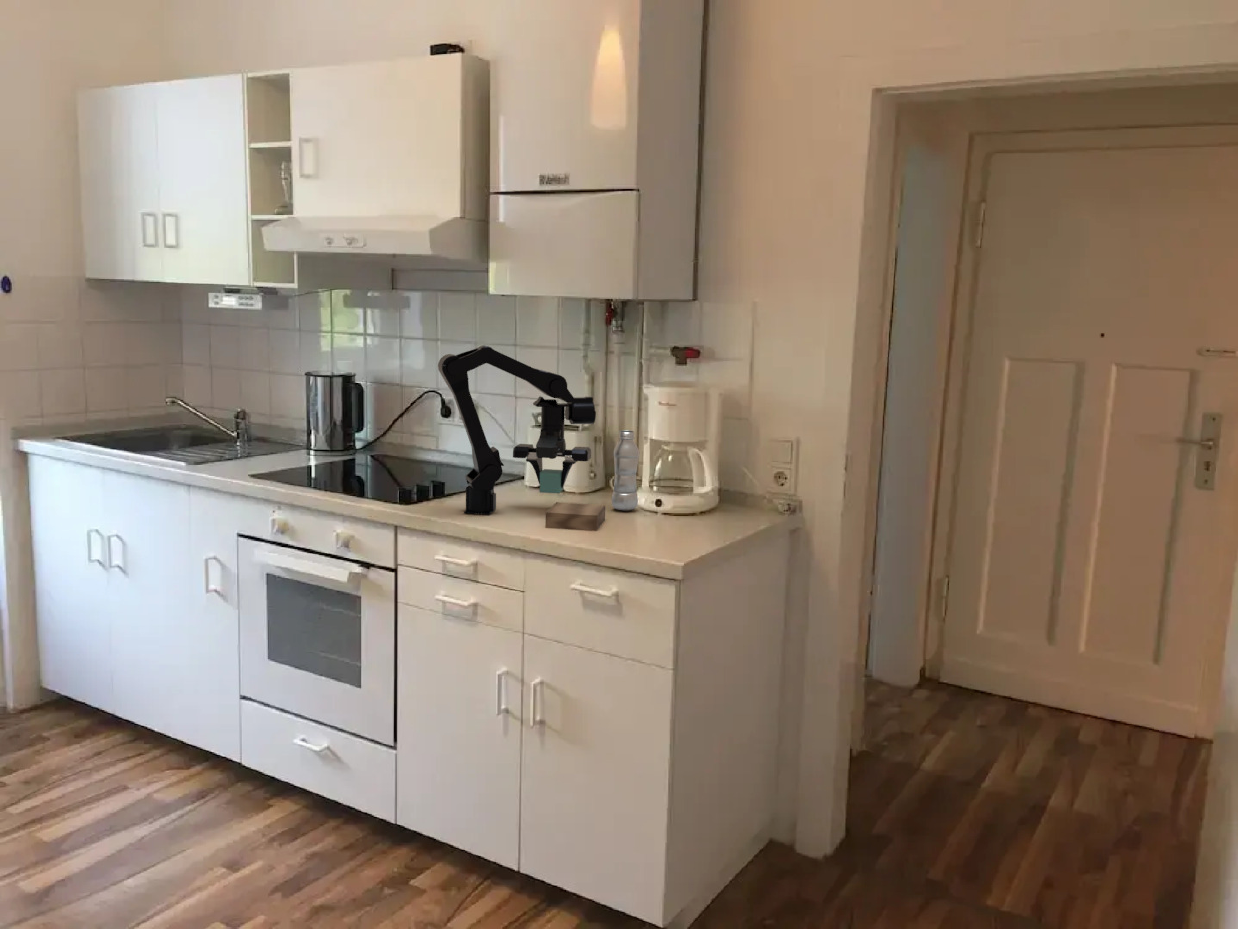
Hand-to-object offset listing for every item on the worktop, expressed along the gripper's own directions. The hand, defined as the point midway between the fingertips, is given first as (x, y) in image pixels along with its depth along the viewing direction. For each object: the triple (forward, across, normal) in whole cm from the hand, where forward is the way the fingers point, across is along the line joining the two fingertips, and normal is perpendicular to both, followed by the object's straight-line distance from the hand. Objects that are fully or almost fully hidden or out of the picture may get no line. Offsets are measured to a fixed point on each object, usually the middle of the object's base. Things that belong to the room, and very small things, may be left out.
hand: (551, 486), depth 260 cm
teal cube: (+1, 0, 0) cm, 1 cm away
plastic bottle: (+6, +18, +4) cm, 19 cm away
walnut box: (+6, +9, -14) cm, 18 cm away
